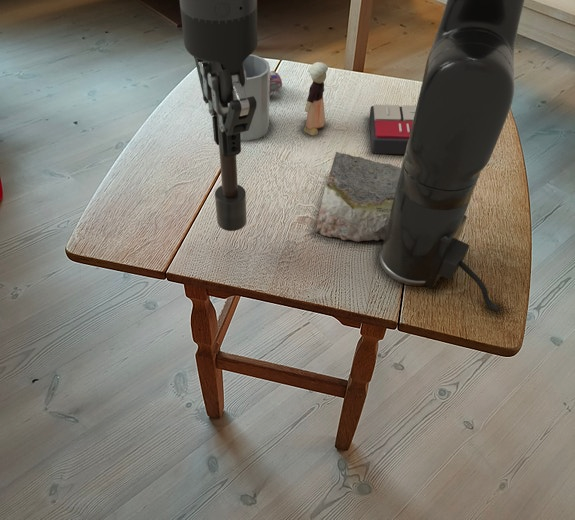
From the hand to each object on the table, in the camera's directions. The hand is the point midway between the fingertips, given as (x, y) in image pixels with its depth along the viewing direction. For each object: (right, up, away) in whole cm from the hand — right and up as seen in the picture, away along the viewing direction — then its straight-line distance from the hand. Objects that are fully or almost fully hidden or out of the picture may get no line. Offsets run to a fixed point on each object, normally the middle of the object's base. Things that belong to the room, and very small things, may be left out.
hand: (227, 147), depth 66 cm
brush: (0, -8, +9) cm, 12 cm away
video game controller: (+1, +19, +43) cm, 47 cm away
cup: (-1, +11, +35) cm, 37 cm away
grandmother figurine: (+12, +11, +36) cm, 40 cm away
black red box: (+30, +9, +35) cm, 47 cm away
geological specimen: (+18, -6, +21) cm, 28 cm away
